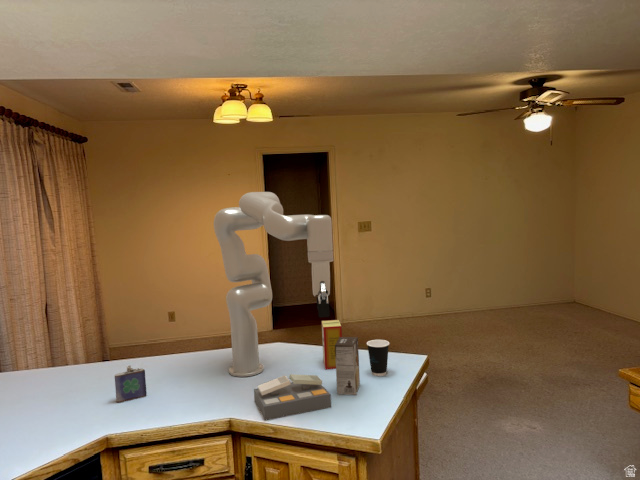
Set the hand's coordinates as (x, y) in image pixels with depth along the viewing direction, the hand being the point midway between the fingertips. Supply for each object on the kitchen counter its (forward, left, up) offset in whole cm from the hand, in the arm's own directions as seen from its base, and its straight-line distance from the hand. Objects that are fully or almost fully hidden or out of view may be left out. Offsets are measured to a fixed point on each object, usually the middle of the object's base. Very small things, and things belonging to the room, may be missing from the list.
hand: (323, 313), depth 141 cm
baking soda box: (-30, +14, -28) cm, 43 cm away
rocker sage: (-4, -5, -21) cm, 22 cm away
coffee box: (-6, +10, -28) cm, 30 cm away
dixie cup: (-14, +25, -28) cm, 39 cm away
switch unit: (-3, -10, -27) cm, 29 cm away
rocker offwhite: (-4, -15, -21) cm, 26 cm away
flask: (-30, -56, -28) cm, 69 cm away
